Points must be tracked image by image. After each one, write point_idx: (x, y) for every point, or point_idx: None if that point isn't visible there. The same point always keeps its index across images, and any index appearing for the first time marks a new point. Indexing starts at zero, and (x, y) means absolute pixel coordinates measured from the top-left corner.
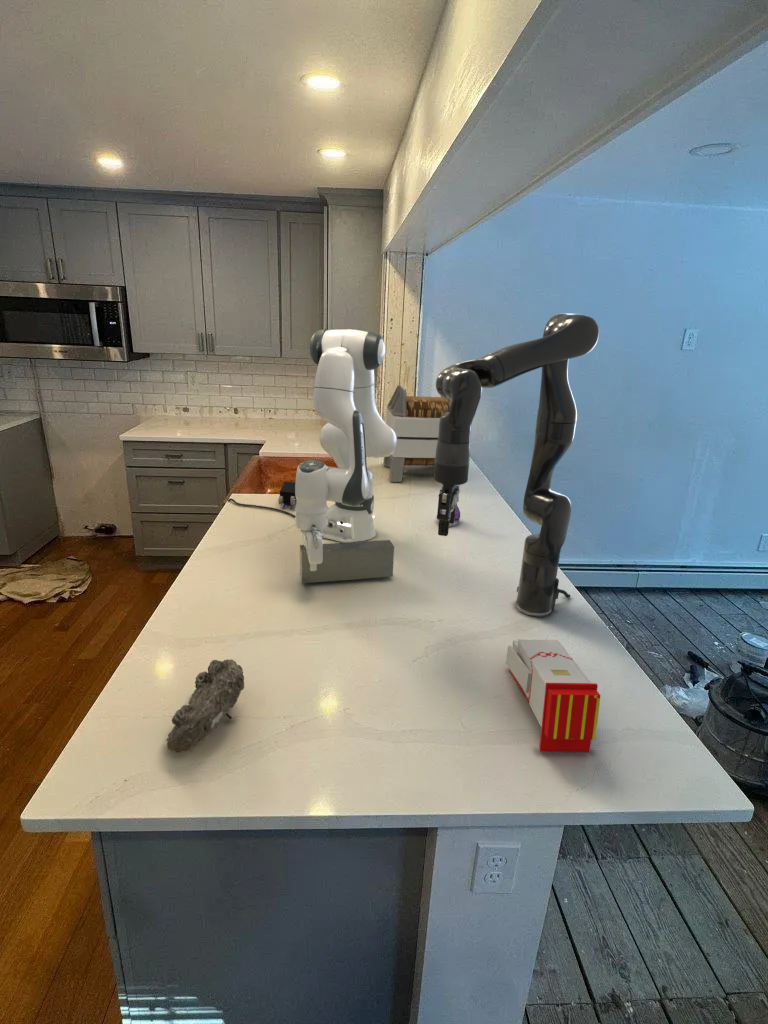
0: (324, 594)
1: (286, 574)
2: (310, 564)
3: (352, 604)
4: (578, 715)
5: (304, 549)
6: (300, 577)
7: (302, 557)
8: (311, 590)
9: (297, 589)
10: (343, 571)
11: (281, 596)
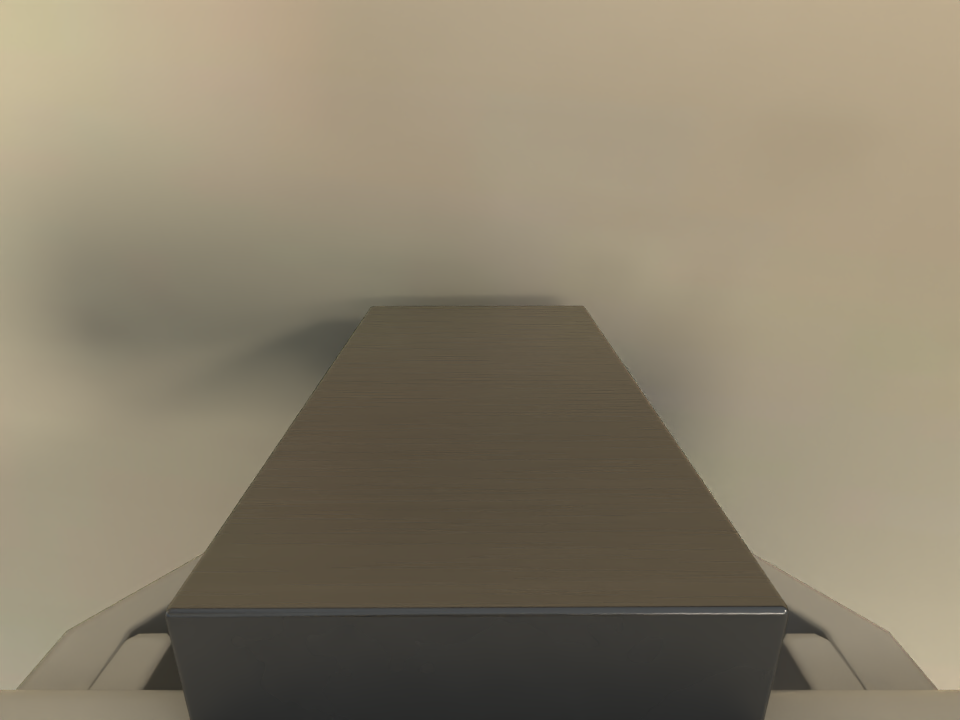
0: (203, 484)
1: (736, 144)
2: (170, 576)
3: (32, 655)
4: None
5: (390, 705)
6: (515, 306)
7: (238, 519)
8: (290, 381)
9: (322, 240)
10: None
11: (148, 25)
